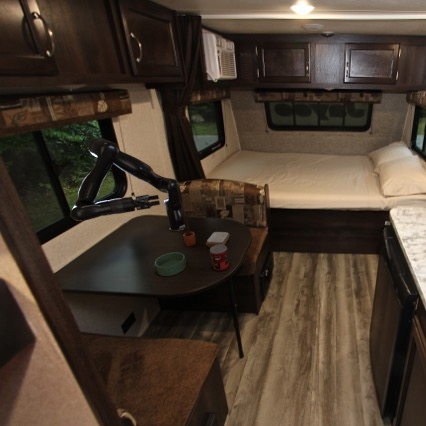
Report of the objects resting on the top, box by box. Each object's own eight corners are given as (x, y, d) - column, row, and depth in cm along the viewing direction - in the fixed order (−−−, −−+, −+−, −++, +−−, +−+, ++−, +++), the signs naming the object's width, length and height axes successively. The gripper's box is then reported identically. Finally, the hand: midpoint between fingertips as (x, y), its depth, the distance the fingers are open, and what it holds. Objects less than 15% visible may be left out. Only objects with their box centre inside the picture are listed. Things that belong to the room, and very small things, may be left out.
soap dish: (223, 250, 164) (222, 242, 161) (206, 249, 164) (204, 241, 162) (230, 239, 175) (229, 231, 173) (214, 238, 175) (213, 231, 173)
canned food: (210, 266, 150) (207, 248, 145) (224, 260, 155) (221, 242, 150) (217, 273, 145) (214, 254, 140) (231, 266, 150) (229, 248, 145)
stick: (188, 242, 169) (182, 214, 161) (192, 241, 170) (186, 214, 162) (188, 244, 168) (183, 216, 160) (192, 243, 168) (187, 215, 161)
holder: (184, 242, 170) (182, 233, 167) (195, 240, 173) (193, 230, 170) (186, 247, 165) (184, 237, 163) (197, 244, 168) (195, 235, 165)
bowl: (156, 264, 150) (153, 256, 148) (184, 257, 156) (182, 249, 154) (157, 279, 140) (155, 270, 138) (188, 270, 146) (186, 262, 144)
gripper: (120, 203, 137) (158, 197, 144) (120, 193, 148) (156, 188, 155) (124, 217, 140) (161, 211, 148) (124, 207, 151) (159, 201, 159)
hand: (159, 199), depth 151 cm, fingers open, 8 cm apart
